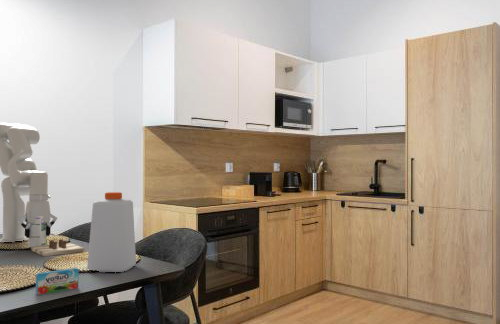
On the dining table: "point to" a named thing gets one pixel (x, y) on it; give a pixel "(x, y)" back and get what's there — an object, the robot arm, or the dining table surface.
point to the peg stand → (57, 248)
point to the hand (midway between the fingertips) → (37, 236)
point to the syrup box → (38, 233)
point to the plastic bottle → (112, 235)
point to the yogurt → (57, 281)
